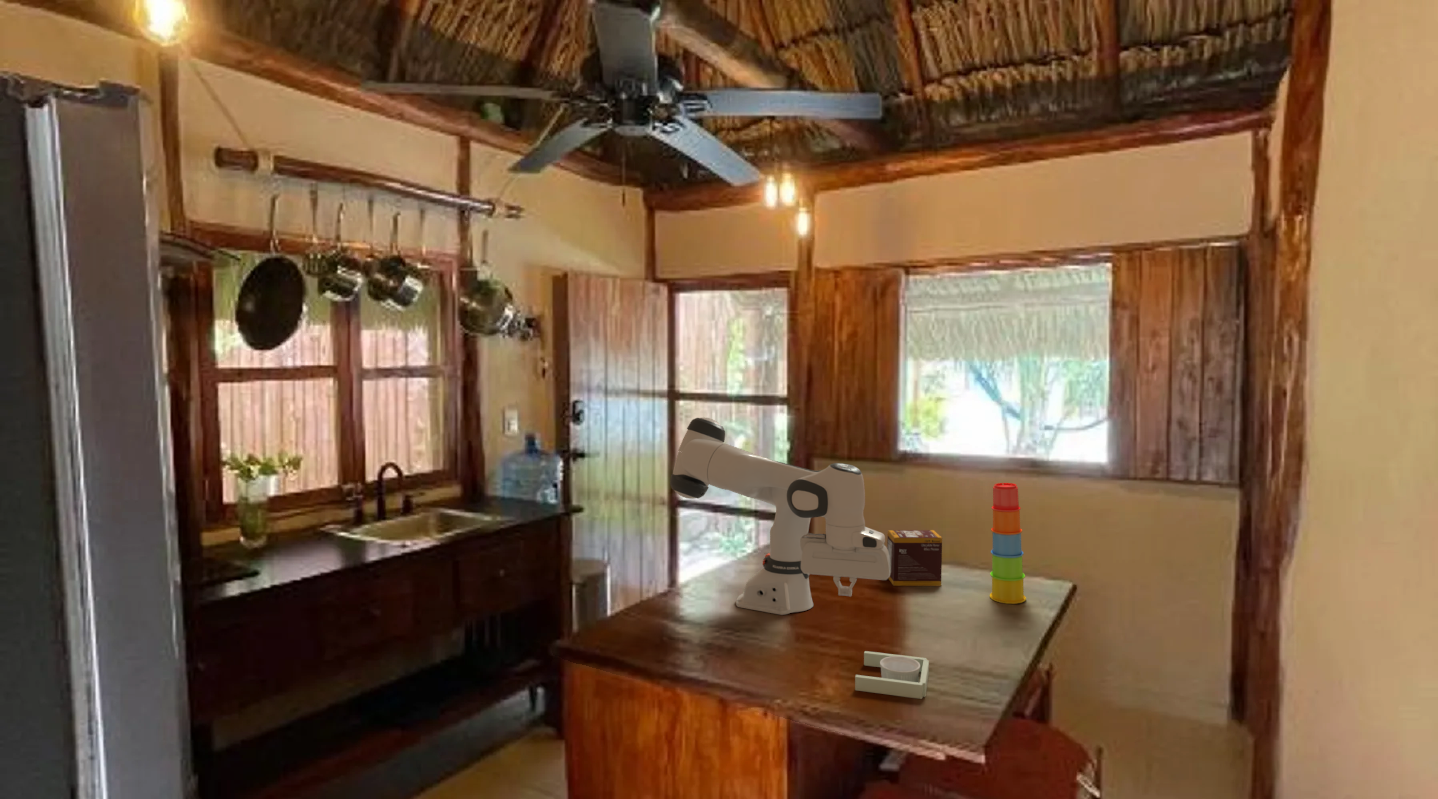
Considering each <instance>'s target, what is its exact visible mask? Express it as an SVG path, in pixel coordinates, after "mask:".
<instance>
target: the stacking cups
mask: <svg viewBox="0 0 1438 799" xmlns="http://www.w3.org/2000/svg"><path fill="white" fill-rule="evenodd" d="M992 497H993V498H992V501H993V502H992V506H991V509H992V527H991V528H990V531H991V532H992V549H991V550H990V554H992V556H991V557H992V560H991V561H992V562H991V564H992V566H991V567H992V568H991V569H992V571H990V573H989V575H990V576H991V592H990V594H989V598H990V600H992V601H994V602H997V603H1000V604H1007V605H1016V604H1022V603H1024V602H1026V600H1027V597H1026V596H1025V594H1024V593H1025V592H1024V590H1025V589H1024V588H1025V587H1024V579H1025V578H1026V575H1025V573H1024V572H1023V571H1024V570H1023V556H1024V551H1023V550H1022V532H1023V529H1022V528H1021V518H1020V517H1021V516H1020V515H1021V514H1020V510H1021V507H1020V505H1019V501H1020V500H1019V488H1018V486H1017V484H1016V483H1012V482H1011V483H1010V482H998V483H995V484H994V485H993V487H992Z"/></svg>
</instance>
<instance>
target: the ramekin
mask: <svg viewBox="0 0 1438 799" xmlns="http://www.w3.org/2000/svg"><path fill="white" fill-rule="evenodd" d="M880 666H881V667H880V673H881V674H880V675H881V678H887V679H895V680H903V681H911V682H919V677H920V676H919V675H920V672H919V670H920V663H919V662H918V661H916V660H914V659H912V658H908V657H903V656H890V657H886V658H883V659H882V660H881V661H880Z"/></svg>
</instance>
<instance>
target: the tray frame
mask: <svg viewBox="0 0 1438 799" xmlns="http://www.w3.org/2000/svg"><path fill="white" fill-rule="evenodd" d="M890 656H903V657H908V658H912V659H914V660H916V661H918V662H919V663H920V670H919V673H920V679H919V681H918V682H911V681H903V680H895V679H887V678H882V677H878V676H871V675H870V676H868V675H863V674H862V675H860V674H855V677H854V679H855V680H854V683H855V684H854V686H855V687H854V690H855V691H860V692H867V693H875V694H883V695H890V696H895V697H905V698H912V699H920V700H922V699H923V698H926V695H927V688H928V680H929V675H930V659H929V660H928V659H927V658H926V657H922V656H921V657H918V656H913V655H912V656H911V655H902V654H892V653H884V652H877V651H868V650H865V651H864V652H863V658H864V659H863V665H864V666H867V667H874V668H876V667H877V668H881V666H880V661H881V660H882V659H883V658H886V657H890Z"/></svg>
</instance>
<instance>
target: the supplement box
mask: <svg viewBox="0 0 1438 799" xmlns="http://www.w3.org/2000/svg"><path fill="white" fill-rule="evenodd" d="M886 539H887V546H886V547H887V549H888V552H889V557H890V566H891V573H890V576H889V578H888V579H887V580H889V581H890V583H891V585H892V586H893V587H894V586H897V587H899V586H900V587H902V586H903V587H906V586H907V587H909V586H910V587H914V586H915V587H941V586H942V567H943V566H942V563H943V537H942V536H941V535H940V534H939V533H937V532H936V530H934V529H924V530H923V529H921V530H918V529H910V530H909V529H904V530H903V529H897V530H894V529H893V530H890V529H888V530H887V538H886Z"/></svg>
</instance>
